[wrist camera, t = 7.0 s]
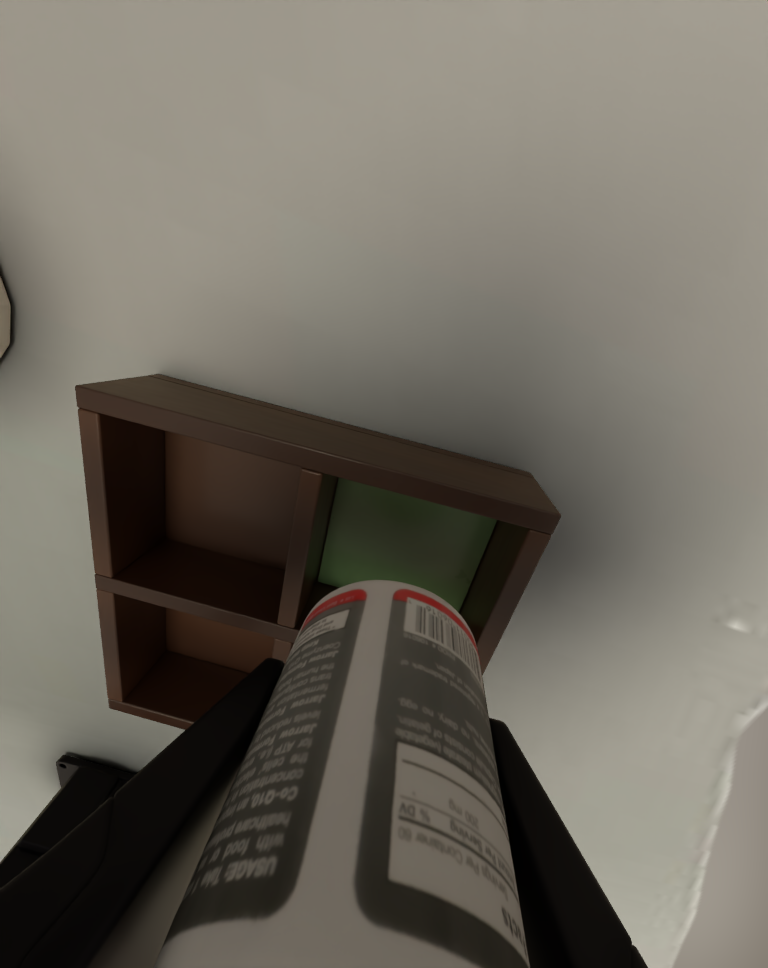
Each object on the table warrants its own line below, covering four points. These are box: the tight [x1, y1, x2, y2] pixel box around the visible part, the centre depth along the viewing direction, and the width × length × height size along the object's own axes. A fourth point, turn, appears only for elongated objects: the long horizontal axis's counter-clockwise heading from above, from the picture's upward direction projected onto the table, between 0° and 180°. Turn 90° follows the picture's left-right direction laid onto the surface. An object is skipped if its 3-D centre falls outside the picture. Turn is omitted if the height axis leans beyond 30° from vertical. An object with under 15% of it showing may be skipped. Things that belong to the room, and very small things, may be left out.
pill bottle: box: [154, 580, 530, 968], centre depth 6 cm, size 5×5×8 cm
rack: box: [75, 374, 561, 730], centre depth 15 cm, size 15×15×4 cm
